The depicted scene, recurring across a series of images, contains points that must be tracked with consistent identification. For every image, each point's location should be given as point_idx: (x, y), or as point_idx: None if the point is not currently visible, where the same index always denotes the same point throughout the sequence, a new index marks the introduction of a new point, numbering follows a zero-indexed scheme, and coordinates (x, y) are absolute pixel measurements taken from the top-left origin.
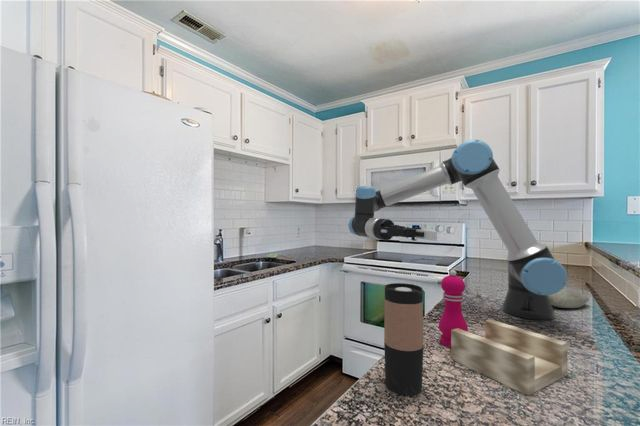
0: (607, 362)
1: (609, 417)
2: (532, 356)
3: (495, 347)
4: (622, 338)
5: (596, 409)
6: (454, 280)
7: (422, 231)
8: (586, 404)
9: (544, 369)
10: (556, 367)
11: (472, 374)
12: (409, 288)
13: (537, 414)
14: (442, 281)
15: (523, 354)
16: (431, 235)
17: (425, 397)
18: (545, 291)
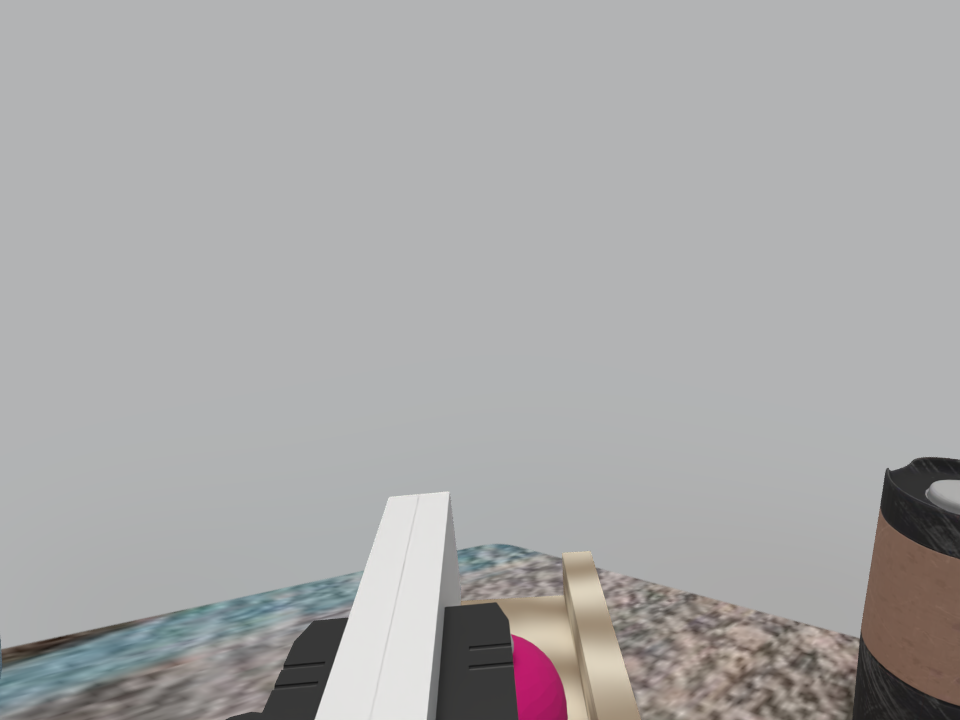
0: (265, 620)
1: (523, 552)
2: (567, 553)
3: (605, 602)
4: (8, 663)
5: (517, 564)
6: (528, 641)
7: (439, 624)
8: (516, 574)
9: None
10: (462, 602)
11: (645, 717)
12: (938, 491)
13: (630, 587)
14: (556, 716)
15: (577, 562)
16: (453, 554)
17: (854, 695)
18: (1, 656)
